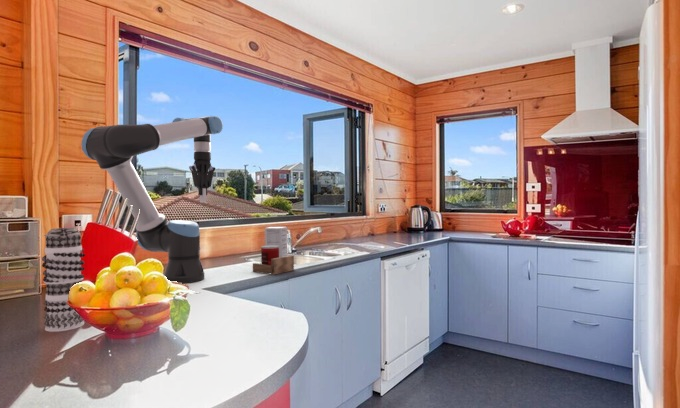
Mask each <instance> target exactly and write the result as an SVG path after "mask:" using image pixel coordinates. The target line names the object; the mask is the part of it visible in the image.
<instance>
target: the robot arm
mask: <svg viewBox="0 0 680 408" xmlns="http://www.w3.org/2000/svg"><path fill="white" fill-rule="evenodd" d="M223 127H224V125H223V120H222V118H220V117H219V116H217V115H209V116H202V117H201V116H200V117H193V118H192V117H191V118H184V117H176V118H174V119H172V122H168V123H166V122H165V123H161V124H155V125H153V124H151V123H142V124H116V125H107V126H103V125H101V126H96V127H93V128H90V129H88V130H86V131H85V133H84V134H83V135H82V140H81V144H80V145H81V149H82V152H83V154H84V155H85V157H87V158H88V159H91V160H93V161H95V162H96V163H97V165H98V166H99V168H100V169H101V170H103V171H107V173H108V174H109V176H110V178H111V180H112V181H113V183H114V185H115V187H116V189H117V190H118V191H119V193H120V195H121V197H122V199H123V201H124V200H125V199H126V198H128V199H129V200H128V203H127V204H126V206H127V208H128V209H129V207H130V205H133V207H134V208H133V211H132V213H131V215H132V216H133V218H134V219H135V217H136V216H137V213H138V211H139V209H140V214H139V219H138V222H137V221H136V223H137V224H136V225H135V230H136V232H135V235H136V236H135V238H136V237H137V239H138V243H137V245H138V246H139V247H140V248H141V249H142V250H144V251H150V252H155V253H156V252H158V253H159V252H161V253H162V252H163V253H168V260H167V263H166V268H165V270H164V274H163V276H164V275H165V276H166V277H167V279H168V280H170V281H177V282H182V283H181V284H187V283H195V282H199V281H202V280H204V279H205V271H204V268H203V265H202V262H201V257H200V255H201V253H200V250H201V248H200V246H201V245H200V243H201V233H200V232H201V231H200V225H199V224H198V223H197V222H196V221H191V220H182V219H181V220H180V219H174V220H169V221H168V220H167V218H166V216H165V214H163V213H159V211H158V210H157V208H156V206H155V204H154V201H153V200H152V198H151V197H150V194H149V193H148V191H147V189H146V187H145V185H144V184H143V181H142V180H141V178H140V176H139V174H138V172H137V170H136V169H135V166H134V164H133V163H132V160H133V157H136V156H138V155H143V154H145V153H148V152H151V151H155V150H157V149H158V148H159V147H161V146H164V145H165V146H166V145H169V144H173V143H177V142H181V141H185V140H190V139H193V151H194V152H193V159H194V162H193V164H192V165H190V166H188V169H189V170H190V173H191V177H192V182H193V186H194V187H195V188H196V189H197V190H198V192H197V193H198V196H199V203H207V196H208V189H209V188H211V187H212V184H213V177H214V172H215V170H216V167H215V166H213V165H212V163H211V160H212V153H211V151H212V145H211V144H212V143H211V140H212V137H211V135H217V134H220V133H222V131H223Z"/></svg>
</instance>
